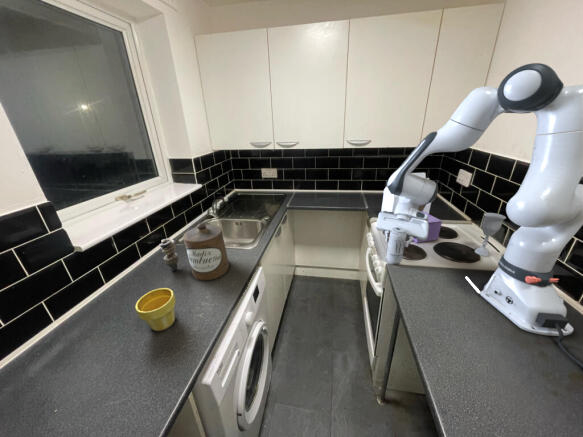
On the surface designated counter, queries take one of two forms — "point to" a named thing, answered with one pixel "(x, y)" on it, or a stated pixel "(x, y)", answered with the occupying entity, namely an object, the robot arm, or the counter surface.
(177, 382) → the counter surface
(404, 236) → the energy drink can
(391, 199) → the gable box
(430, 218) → the flap
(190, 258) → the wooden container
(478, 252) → the chalice
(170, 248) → the grey tall piece
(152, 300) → the flower pot
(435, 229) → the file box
